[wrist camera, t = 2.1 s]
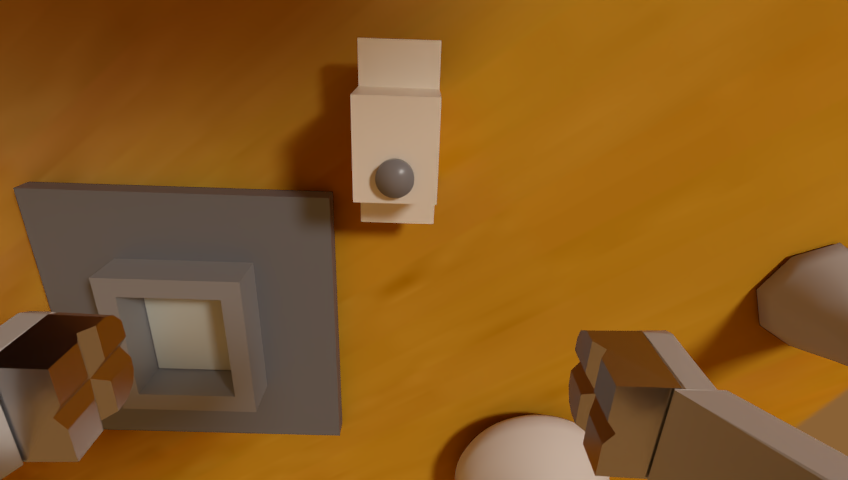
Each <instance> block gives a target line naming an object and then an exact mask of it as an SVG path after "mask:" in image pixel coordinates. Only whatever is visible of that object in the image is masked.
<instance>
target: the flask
mask: <svg viewBox="0 0 848 480" xmlns="http://www.w3.org/2000/svg"><path fill="white" fill-rule="evenodd" d="M757 300H758V311H759V322H760V326H762V327H763V328H765V329H766V330H768V331H769V332H771V333H772V334H773V335H775V336H776V337H778V338H779V339H781V340H782V341H783V342H785V343H786V344H788V345H790V346H793V347H795V348H798V349H801V350H804V351H807V352H810V353H813V354H816V355H819V356H821V357H824V358H827V359H830V360H833V361H836V362H838V363H841V364H844V365H846V366H848V249H847V248H846V247H845V246H843V245H842V244H841V243H838V244H834V245H831V246H827V247H824V248H820V249H817V250H813V251H810V252H806V253H803V254H799V255H796V256H792V257H791V258H790V259H789V260H788V261H787V262H786V263H785V264H784V265H782V266H781V267H780V268H779V269H778V270H777V271H776V272H775V273H774V274H773V275H772V276H771V277H770V278H768V279H767V280H766V281H765V282H764V283H763V284H762V285H761V286H760V287H759V288H758V289H757Z"/></svg>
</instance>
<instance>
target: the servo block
mask: <svg viewBox="0 0 848 480" xmlns="http://www.w3.org/2000/svg"><path fill="white" fill-rule="evenodd" d="M357 42H358V87H357V88H356V89H355V90H354V91H353V92H352V93H351V94H350V105H351V144H352V183H353V202H361V222H385V223H418V224H434V205H437V185H438V163H439V141H440V119H441V93H440V89H439V87H440V64H441V42H442V41H441V40H415V39H387V38H357Z"/></svg>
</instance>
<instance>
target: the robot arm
mask: <svg viewBox="0 0 848 480" xmlns="http://www.w3.org/2000/svg"><path fill="white" fill-rule="evenodd" d="M125 337H126V334H125V331H124V328H123V324H122V321H121V320H120V319H119V318H117V317H116V316H114V315H102V314H82V313H63V312H57V313H55V312H36V311H29V312H22V313H18V314H16V315H15V316H14V317H12V318H11V319H9V320H8V321H7V322H5V323H4V324H2V325H1V326H0V480H1V479H3V478H4V477H6V476H7V475H9V474H10V473H12V472H13V471H15V470H16V469H18V468H19V467H21V466H22V465H23V462H79V460H80V459H81V458H82V457H83V455H84V454H85V453H86V452H87V450H88V449H89V448H90V447H91V445H92V444H93V443H94V442H95V440H96V439H97V438H98V436H99V435H100V434H101V433H102V431H103V425H102V420H103V419H105V418H107V417H109V416H110V415H112V414H114V413H116V412H117V411H119V410H120V408H121V407H122V406H123V404H124V403H125V402H126V400H127V399H128V397H129V394H130V391H131V388H132V385H133V380H134V368H133V363H132V359H131V357H130V356H129V355H128V354H127V353H126V352H125V351H124V350H123V349H122V348H121V347H120V345H121V344H122V342H123V341H124V339H125ZM575 351H576V353H577V356H578V358H579V360H580V362H579V363H578V364H577V365H576V366H575V367H574V368H573V369H572V370H571V374H570V381H569V403H570V408H571V413H572V416H573V419H574V421H575V424H576V425H578V426H579V427H580V428H581V429H583V430H584V431H585V435H584V440H583V446H584V448H585V451H586V453H587V456H588V459H589V461H590V464H591V466H592V469H593V472H594V474H595V476H607V477H625V478H644V479H648V480H848V456H846V455H844V454H843V453H840V452H839V451H837V450H835V449H833V448H831V447H830V446H828V445H826V444H824V443H822V442H820V441H819V440H817V439H815V438H813V437H811V436H809V435H808V434H806V433H804V432H802V431H800V430H798V429H797V428H795V427H793V426H791V425H789V424H787V423H786V422H784V421H782V420H780V419H778V418H776V417H775V416H773V415H771V414H769V413H767V412H765V411H764V410H762V409H760V408H758V407H756V406H754V405H753V404H751V403H749V402H747V401H745V400H743V399H742V398H740V397H738V396H736V395H734V394H732V393H731V392H729V391H726V390H717V389H716V388H715V387H714V385H713V384H712V383H711V382H710V380H709V379H708V378H707V377H706V375H705V374H704V373H703V372H702V370H701V369H700V368H699V367H698V365H697V364H696V363H695V362H694V360H693V359H692V358H691V357H690V355H689V354H688V353H687V352H686V350H685V349H684V348H683V347H682V345H681V344H680V343H679V342H678V340H677V339H676V338H675V337H674V335H673V334H672V333H670V332H668V331H666V330H664V331H587V330H581V332H580V334H579V336H578V338H577V343H576V348H575Z"/></svg>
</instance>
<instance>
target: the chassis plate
mask: <svg viewBox="0 0 848 480" xmlns="http://www.w3.org/2000/svg"><path fill="white" fill-rule="evenodd" d="M13 189H14V192H15V195H16V199H17V202H18V205H19V208H20V211H21V215H22V218H23V221H24V224H25V228H26V231H27V234H28V237H29V241H30V244H31V247H32V250H33V254H34V257H35V260H36V263H37V267H38V270H39V273H40V276H41V280H42V283H43V286H44V289H45V293H46V296H47V299H48V302H49V305H50V309H51V312H55V313H57V312H63V313H82V314H102V315H114V316H116V317H117V318H119V319H120V320H121V321H122V324H123V328H124V331H125V334H126V337H125V339H124V341H123V342H122V344H121V345H120V347H121V348H122V349H123V350H124V351H125V352H126V353H127V354H128V355H129V356H130V357H131V359H132V363H133V368H134V380H133V385H132V388H131V391H130V394H129V397H128V399H127V400H126V402H125V403H124V404H123V406H122V407H121V408H120V410H119V411H117V412H116V413H114V414H112V415H110V416H109V417H107V418H105V419H103V420H102V425H103V429H112V430H151V431H189V432H228V433H267V434H306V435H340V431H341V426H342V407H341V383H340V358H339V334H338V309H337V285H336V260H335V236H334V211H333V192H325V191H294V190H263V189H233V188H202V187H171V186H140V185H110V184H79V183H48V182H27V183H24V184H22V185H20V186H17V187H15V188H13Z"/></svg>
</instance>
